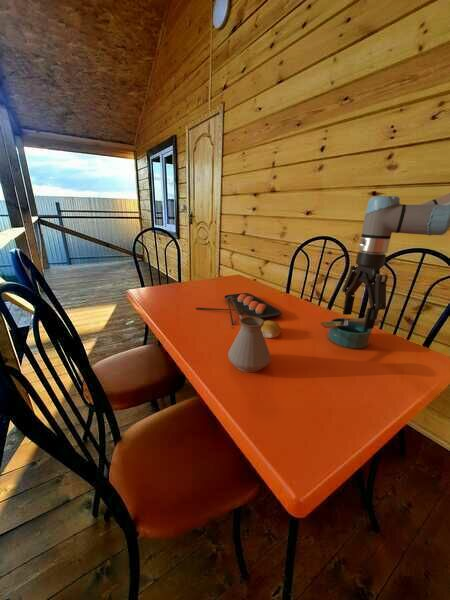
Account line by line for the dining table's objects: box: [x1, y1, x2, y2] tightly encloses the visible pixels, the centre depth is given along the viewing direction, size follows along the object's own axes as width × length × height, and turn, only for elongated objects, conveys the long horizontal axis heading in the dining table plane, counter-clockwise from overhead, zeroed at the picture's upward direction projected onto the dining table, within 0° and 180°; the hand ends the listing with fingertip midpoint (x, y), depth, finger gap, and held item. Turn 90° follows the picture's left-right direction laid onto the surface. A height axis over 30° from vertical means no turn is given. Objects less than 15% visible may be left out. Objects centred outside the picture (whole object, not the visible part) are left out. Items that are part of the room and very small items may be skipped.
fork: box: [320, 317, 381, 329], centre depth 82 cm, size 19×3×2 cm, turn 97°
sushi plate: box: [195, 292, 283, 326], centre depth 107 cm, size 29×30×4 cm
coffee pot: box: [226, 296, 271, 373], centre depth 71 cm, size 21×12×15 cm, turn 20°
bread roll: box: [261, 320, 282, 339], centre depth 87 cm, size 8×9×4 cm
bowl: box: [327, 317, 373, 350], centre depth 84 cm, size 12×12×6 cm
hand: (356, 320), depth 82 cm, fingers open, 10 cm apart
